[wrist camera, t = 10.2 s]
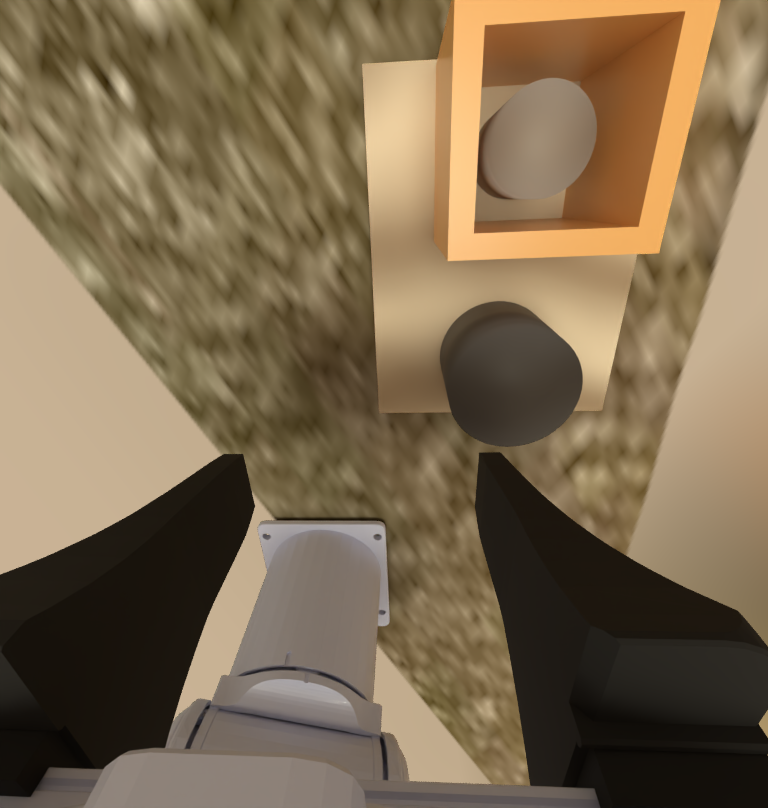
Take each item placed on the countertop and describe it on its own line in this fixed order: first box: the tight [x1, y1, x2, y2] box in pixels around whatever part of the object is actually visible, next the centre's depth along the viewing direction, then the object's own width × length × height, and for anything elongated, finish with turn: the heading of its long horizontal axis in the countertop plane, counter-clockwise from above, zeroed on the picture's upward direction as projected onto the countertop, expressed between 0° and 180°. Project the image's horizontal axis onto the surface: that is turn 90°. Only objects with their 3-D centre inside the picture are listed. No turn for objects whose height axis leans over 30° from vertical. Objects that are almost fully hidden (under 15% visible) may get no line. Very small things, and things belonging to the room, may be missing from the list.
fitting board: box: [362, 60, 637, 447], centre depth 16 cm, size 14×11×5 cm
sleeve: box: [434, 0, 720, 261], centre depth 13 cm, size 6×6×6 cm
